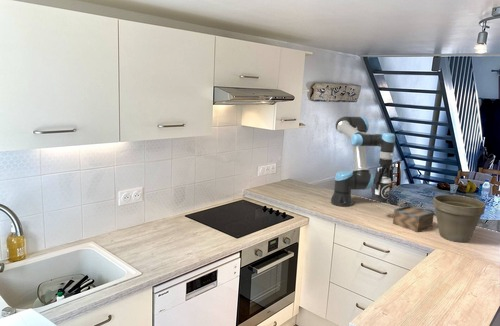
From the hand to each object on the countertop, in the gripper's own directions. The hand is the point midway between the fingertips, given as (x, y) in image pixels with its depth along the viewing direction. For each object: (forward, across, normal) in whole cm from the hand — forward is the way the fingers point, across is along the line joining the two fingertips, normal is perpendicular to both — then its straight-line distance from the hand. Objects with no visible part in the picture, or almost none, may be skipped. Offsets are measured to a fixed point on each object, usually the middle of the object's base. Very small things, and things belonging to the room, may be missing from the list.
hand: (382, 193), depth 226 cm
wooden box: (+16, +7, -19) cm, 26 cm away
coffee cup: (+5, 0, 0) cm, 5 cm away
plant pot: (+16, +10, -42) cm, 46 cm away
